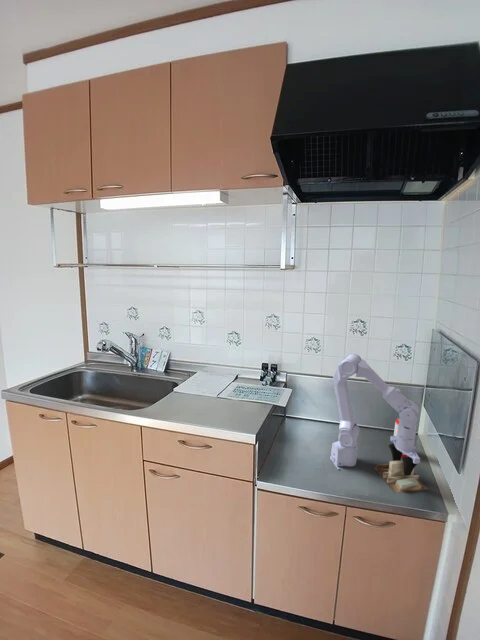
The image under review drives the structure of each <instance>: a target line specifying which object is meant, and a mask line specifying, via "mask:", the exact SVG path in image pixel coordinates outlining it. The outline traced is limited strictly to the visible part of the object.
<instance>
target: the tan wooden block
mask: <svg viewBox="0 0 480 640" xmlns="http://www.w3.org/2000/svg"><path fill="white" fill-rule="evenodd" d="M388 464H389V471H388V477H394V476H405V475H404V464H403V460H402V459H401V460H400V461H393V460H389V462H388ZM411 475H415V468H414V469H413V471H412V472H411Z"/></svg>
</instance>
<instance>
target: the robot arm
mask: <svg viewBox="0 0 480 640" xmlns="http://www.w3.org/2000/svg"><path fill="white" fill-rule="evenodd" d="M354 375H355V377H356V378H365V379H366V380H367V381H368V382H369V383H370V384H371V385H373V386H374V387H375V388H376V389H377V390H378V391H380V392H381V394H382V399H383V400H384V401H385V402H387V404H389V405H390V406H391V408H393V409H394V410H395V411H396V413H397V412H398V417H400V421H399V425H398V433H397V437H396V436H394V435H390V439H389V441H390V442H391V443H390V444H389V445H388V447H389V449H390V452H391V456H392V461H400V460H403V464H404V475H405V476H410V475H411V472H412V471H413V469H414V470H415V467H416V466H417V465H419V464H420V463H421V458H420V457H419V455H418V453H417V451H416V449H417V447H416V446H415V440H416V434H417V427H418V426H417V423H418V419H419V413H420V409H419V406H418V405H417V403H416V402H414V401H412V400H411V399H408V398H407V397H406V396H405V395H403V393H402V392H401V391H402V390H401V389H400V388H396V387H395V386H391V385H389V384H387V382H385V381H384V380H383V379H382V377H380V376H379V374H378V373H377V372H376V371H374V369H373V368H372V367H371V366H370V365H369V364H368V362H367V361H366V360H364V359H363V358H362V357H361V356H360V355H358V354H356V353H350V354H348V355H347V356H346V357H344V359H343V360H341V361H340V362H339V363H338V364H337V367H336V369H335V370H334V373H333V376H332V382H333V387H334V393H335V399H336V404H337V409H338V417H339V427H338V431H339V433H338V436H337V437H338V439H337V440H338V441H335V442H332V444H331V450H330V451H331V452H330V457H329V459H330V461H331V462H332V463H333V465H334V466H335V468H336V470H339V471H340V470H341V468H340V467H354V466H356V465H357V458H358V450H359V449H358V448H359V442H358V438H359V436H360V434H361V429H360V427H359V425H358V424H357V420H356V419H355V418H354V414H353V407H352V401H351V395H350V390H349V384H348V383H349V382H348V378H350V377H352V376H354ZM402 453H404V454H405V455H407V457H401V456H402Z"/></svg>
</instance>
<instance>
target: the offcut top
mask: <svg viewBox="0 0 480 640" xmlns="http://www.w3.org/2000/svg"><path fill="white" fill-rule="evenodd" d="M396 484H397V485H399V486H400V487H401V488H406V487H411V486H416V485H418V481H417V480H415V479H414V478H413V477H412V478H407V479H402V480H397V482H396Z"/></svg>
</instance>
